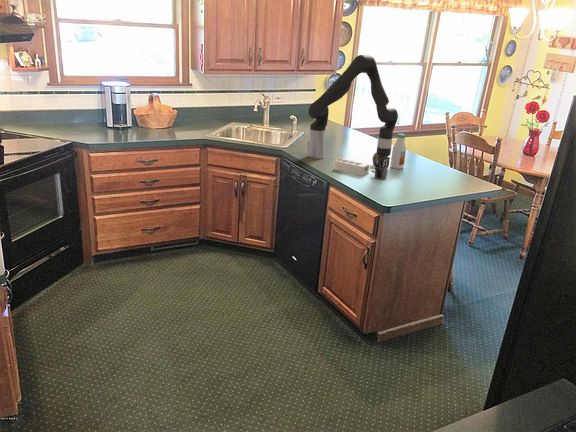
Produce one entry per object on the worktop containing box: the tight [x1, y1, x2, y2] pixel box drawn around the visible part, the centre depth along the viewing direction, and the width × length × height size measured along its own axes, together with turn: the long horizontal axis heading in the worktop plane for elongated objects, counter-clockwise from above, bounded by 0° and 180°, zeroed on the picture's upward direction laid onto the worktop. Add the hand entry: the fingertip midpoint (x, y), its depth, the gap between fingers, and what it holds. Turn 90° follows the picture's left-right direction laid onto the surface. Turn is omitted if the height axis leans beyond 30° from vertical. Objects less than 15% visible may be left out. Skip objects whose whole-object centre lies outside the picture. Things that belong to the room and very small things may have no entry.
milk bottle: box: [389, 133, 407, 170], centre depth 292 cm, size 8×8×20 cm
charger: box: [371, 165, 389, 180], centre depth 273 cm, size 8×4×6 cm, turn 55°
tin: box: [372, 152, 390, 170], centre depth 291 cm, size 15×3×8 cm, turn 21°
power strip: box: [334, 157, 370, 177], centre depth 282 cm, size 18×7×6 cm, turn 55°
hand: (380, 176), depth 273 cm, fingers closed on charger, 4 cm apart
